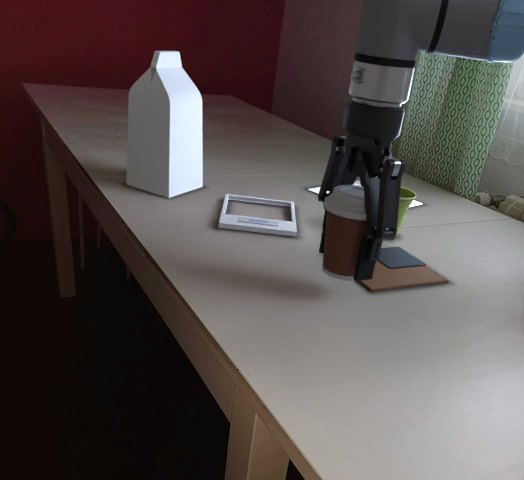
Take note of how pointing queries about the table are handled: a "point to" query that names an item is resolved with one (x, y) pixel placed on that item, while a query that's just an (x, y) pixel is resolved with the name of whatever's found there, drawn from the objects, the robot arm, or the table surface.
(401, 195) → the plant pot
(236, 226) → the photo frame
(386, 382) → the table surface
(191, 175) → the milk
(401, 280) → the placemat
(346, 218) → the coffee cup
